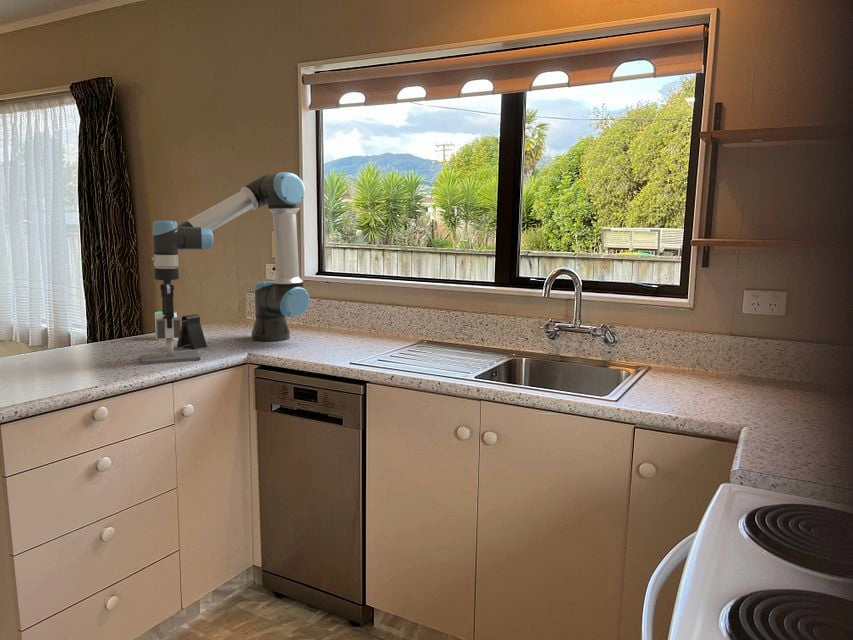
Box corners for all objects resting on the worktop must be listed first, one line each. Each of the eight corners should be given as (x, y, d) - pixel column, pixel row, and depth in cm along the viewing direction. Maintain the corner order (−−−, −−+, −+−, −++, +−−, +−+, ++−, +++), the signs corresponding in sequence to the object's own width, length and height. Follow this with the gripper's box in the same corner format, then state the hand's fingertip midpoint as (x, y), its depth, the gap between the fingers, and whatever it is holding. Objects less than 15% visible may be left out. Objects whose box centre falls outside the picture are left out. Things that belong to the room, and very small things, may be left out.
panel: (196, 353, 222) (195, 331, 221) (200, 360, 212) (199, 336, 210) (140, 357, 214) (139, 334, 213) (141, 364, 204) (140, 340, 202)
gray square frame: (178, 334, 216) (178, 316, 215) (180, 337, 210) (180, 319, 209) (156, 335, 213) (155, 317, 212) (157, 338, 207) (157, 319, 206)
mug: (166, 334, 259) (165, 309, 257) (185, 335, 258) (184, 310, 256) (151, 339, 247) (150, 313, 245) (171, 340, 246) (170, 314, 245)
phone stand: (207, 347, 234) (205, 315, 233) (194, 349, 229) (193, 317, 227) (189, 344, 238) (188, 313, 237) (176, 347, 233) (175, 315, 231)
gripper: (152, 265, 216) (154, 331, 219) (155, 269, 198) (158, 341, 201) (175, 265, 219) (177, 330, 222) (181, 269, 201) (183, 340, 205)
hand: (168, 335), depth 212 cm, fingers closed on gray square frame, 7 cm apart
